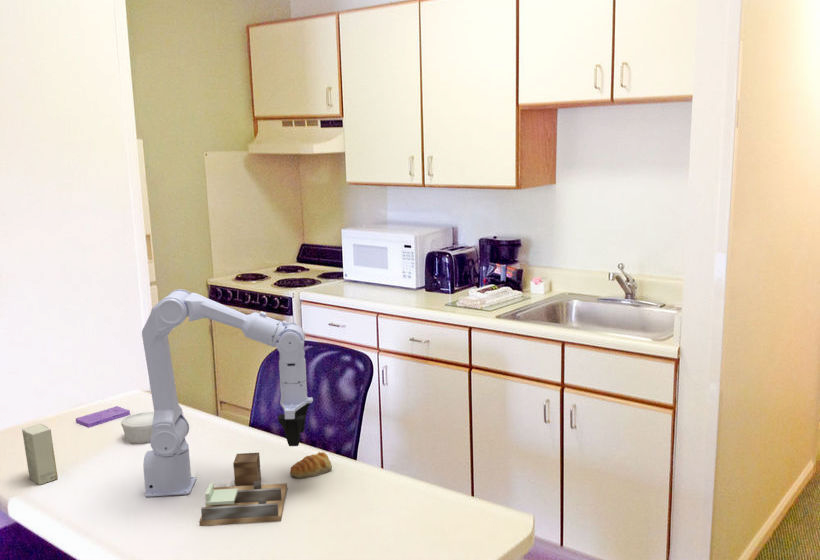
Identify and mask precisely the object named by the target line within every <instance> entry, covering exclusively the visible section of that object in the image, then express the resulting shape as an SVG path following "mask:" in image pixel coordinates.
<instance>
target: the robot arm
mask: <svg viewBox="0 0 820 560" xmlns="http://www.w3.org/2000/svg"><path fill="white" fill-rule="evenodd" d="M187 317H188V322H190V323H191V322H194V321H197V320H201V319H208V320H211V321H215V322H218V323H221V324H224V325H227V326H230V327H234V328H236V329H240V330H241V331H242V333H243V335H244V337H245V338H248V339H250V340H253V341H255V342H258V343H260V344H263V345H266V346H269V347H272V348H273V347H274V348H276V349H277V351H278V352H279V353H278V354H279V360H278V369H279V370H278V371H279V387H280V400H279V401H280V403H279V404H280V406H281V407H282V409H283V412H284V413H283V414H278V416H277V420H278V423H279V424H280V426H281V427H282V429H283V432H284V434H285V439H286V441H287V445H288V447H298V446H299V445H300V440H301V433H302V434H303V433H304V431H305V426H306V421H307V420H306V419H307V412H308V409H309V406H310V405H311V404H312V403H313V401H314V399H313V397H312V396H311V397H309V396H308V386H307V382H308V381H307V364H306V358H305V355H306V353H305V349H304V348H305V347H304V346H305V339H306V334H305V331H304V329H303V328H302V326H300V325H298V324H297V323H295V322H288V321H287V320H284V319H283V320H282V321H280V320H279V319H278V320H277V319H275V318H272V317H269V316H267V312H264V311H262V310H261V311H260V312H252V313H249V314H246V313H243V312H241V311H238V310H236V309H234V308H232V307H229V306H227V305H225V304H222V303H220V302H218V301H215V300H212V299H210V298H208V297H206V296H203V295H201V294H199V293H196V292H190V291H188V290H186V289H183V288H182V289H181V288H179V289H174V290H172V291H171V292H169V294H167V295H166V296H165V297H163V298H162V299H160V301H158V302H157V303H156V304H155V305H154V306H153V307H152V308H151V309H150V313H149V316H148V318H147V319H146V321H145V324H144V326H143V328H142V331H141V337H142V342H143V343H142V344H143V350H144V354H145V356H144V357H145V362H146V368H147V374H148V380H149V386H150V392H151V393H150V394H151V400H152V406H153V410H154V411H153V412H154V417H153V422H152V427H153V434H152V436H151V440H150V442H149V443H150V447H151V449H152V450H148V451H146V452H145V454H144V458H143V476H144V488H145V494H144V497H147V498H149V497H166V496H181V495H182V496H184V495H189V494H190V493H191V492H192V489H193V487H194V486H195V483H196V481H197V477H196V476H192V474H191V461H190V450H189V449H190V448H189V443H188V442H187V440H186V436H187V435H188V434H189V431H190V426H189V425H190V424H189V422H188V421H189V420H187V419H186V418H185V416H184V412H183V408H182V407H181V406H180V404H179V400H178V394H177V388H176V380H175V374H174V367H173V362H172V355H171V349H170V342H169V334H171V332H172V331H173V329H175V328H176V327H178V326H180V325H182V323H183V322H184V321H185V320H186V318H187Z"/></svg>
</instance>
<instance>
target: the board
mask: <svg viewBox="0 0 820 560" xmlns="http://www.w3.org/2000/svg"><path fill="white" fill-rule="evenodd" d="M253 484H254V485H249V486H235V485H233V486H217V487H215V486H214V490H218V489H235V488H238V493H237V496H236V499H235V502H234V504H219V505H205V506H204V507H203V506H202V507H200V511H201V512H200V513H201V515H200V518H199V520H198V523H199V526H201V527H202V526H203V527H205V526H219V525H222V526H223V525H233V524H235V525H236V524H238V525H239V524H250V523H251V524H253V523H254V524H255V523H268V522H269V523H270V522H281V521H282V517H283V511H284V506H285V502H286V501H285V500H286V497H287V492H288V483H286V482H285V483H272V484H271V483H270V484H267V483H266V484H262V481H261V480H260V481H255V482H253Z"/></svg>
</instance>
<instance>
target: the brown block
mask: <svg viewBox="0 0 820 560" xmlns="http://www.w3.org/2000/svg"><path fill="white" fill-rule="evenodd" d="M260 457H261V456H260V452H247V453H246V452H245V453H244V452H243V453H236V455H235V458H234V460H233V478H234V486H249V485H254V484H253V482H255V481H261V478H262V474H261V472H262V471H261V458H260Z"/></svg>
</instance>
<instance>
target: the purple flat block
mask: <svg viewBox="0 0 820 560" xmlns="http://www.w3.org/2000/svg"><path fill="white" fill-rule="evenodd" d="M130 411H131V410H130V409H126V408H124V407H121V406H118V405H116V406H113V407H109V408H107V409H103V410H100V411H96V412H93V413H90V414H86V415H82V416H78V417H76V418H75V422H76V424H79V425H80V426H84V427H86V428H93V427H96V426H99V425H102V424H105V423H108V422H112V421H115V420H118V419H121V418H122V419H123V418H126V417H127V416H130V415H131V412H130Z"/></svg>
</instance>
